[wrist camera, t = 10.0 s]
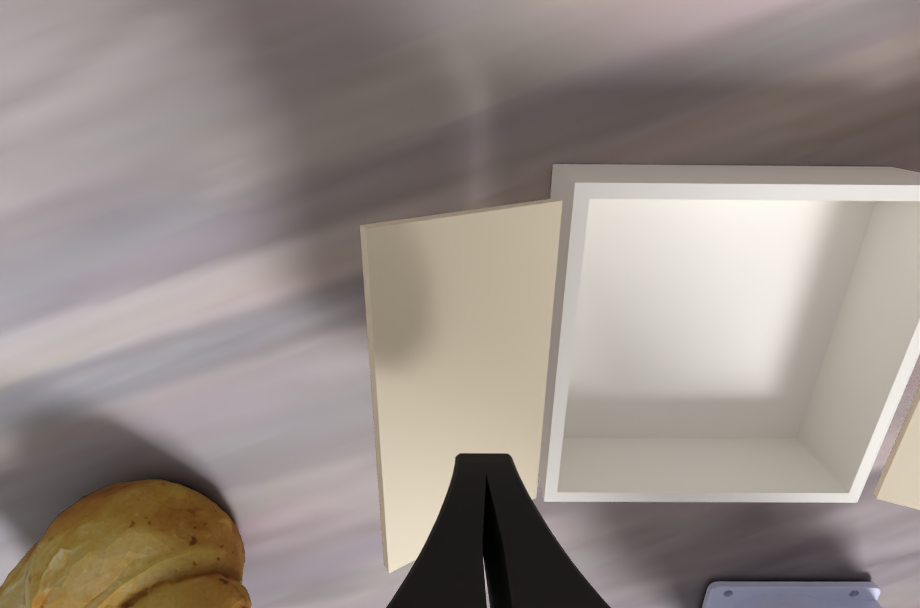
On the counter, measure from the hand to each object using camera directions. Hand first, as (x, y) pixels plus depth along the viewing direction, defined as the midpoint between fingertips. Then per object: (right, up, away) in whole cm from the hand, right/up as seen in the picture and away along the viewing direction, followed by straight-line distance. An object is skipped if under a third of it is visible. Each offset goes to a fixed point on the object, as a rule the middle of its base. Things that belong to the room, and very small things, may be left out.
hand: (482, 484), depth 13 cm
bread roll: (-17, -8, +15) cm, 24 cm away
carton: (+9, +4, +9) cm, 14 cm away
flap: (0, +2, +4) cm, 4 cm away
